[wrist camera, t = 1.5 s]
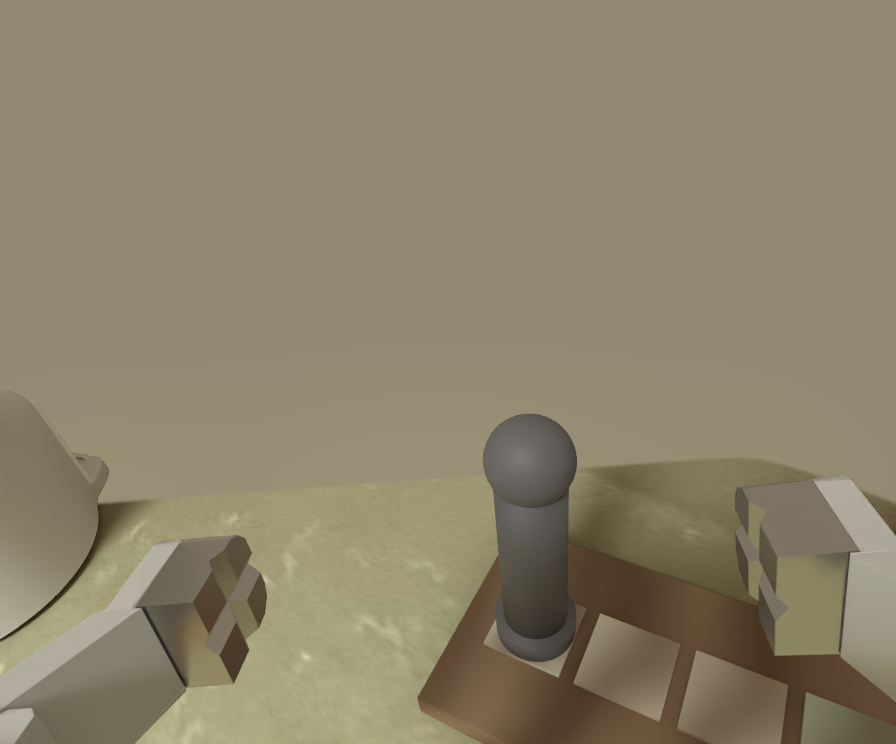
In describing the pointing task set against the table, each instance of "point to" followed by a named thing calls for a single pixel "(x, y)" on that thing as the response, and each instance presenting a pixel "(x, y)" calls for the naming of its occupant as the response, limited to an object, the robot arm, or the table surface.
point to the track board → (648, 673)
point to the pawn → (532, 534)
